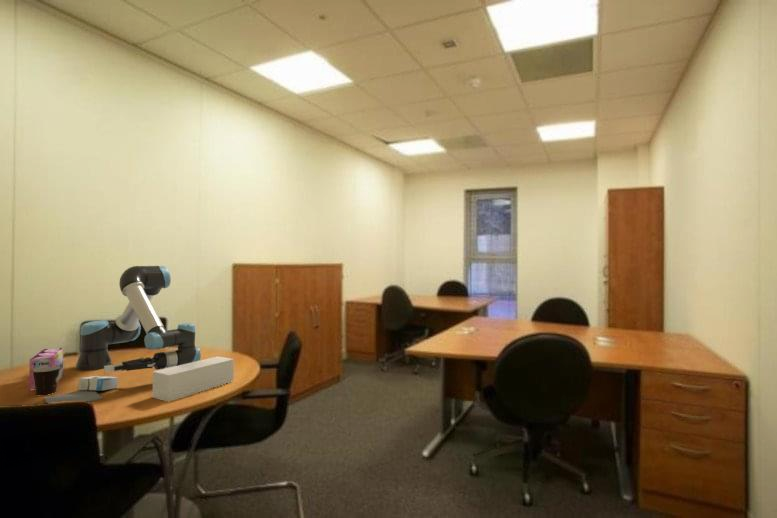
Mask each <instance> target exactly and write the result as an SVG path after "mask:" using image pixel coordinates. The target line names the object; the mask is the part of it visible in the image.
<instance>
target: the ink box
mask: <svg viewBox="0 0 777 518" xmlns="http://www.w3.org/2000/svg"><path fill="white" fill-rule="evenodd" d="M118 380H119V377H118V376H103V375H92V376H84V377H80V378H78V385H77V390H79V391H85V390H94V391H96V392H98V391H99V392H103V391H108V390H109V391H110V390H113V389H117V388H118V384H119V381H118Z"/></svg>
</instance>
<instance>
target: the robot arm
mask: <svg viewBox="0 0 777 518" xmlns="http://www.w3.org/2000/svg"><path fill="white" fill-rule="evenodd" d="M171 280H172V279H171V273H170V270H169V269H168V268H167V267H166V266H164V265H133V266H131V267H128V268H126V270H124V271H123V273H122V274H121V276H120V278H119V289H120V292H121V293H122V295H123V296H124V297H127V299H128V301H129V302H128V304H126V307H125V309H124V310H123V312H122V314H120V315H118V316H116V318H115V320H114V321H110V322H109V321H108V320H107V319H100V320H93V321H89V322H86V323H83V324H82V325H81V327H80V333H79V334H80V353H79V356H78V358H77V361H76V365H75V369H76V370H78V371H93V370H94V371H95V370H101V369H103V373H105V374H107V373H108V374H109V373H114V372H120V371H122V372H123V371H127V372H129V371H136V370H137V371H138V370H146V369H153V368H154V370H155V371H157V370H161V369H166V368H170V367H174V366H179V365H183V364H187V363H192V362H196V361H200V360H201V358H202V353H201V349H200V348H199V347H197V346H196V325H195V323H192V322H191V323H189V322H188V323H187V322H185V323H184V322H183V323H179V324H178V325H177V328H175V329H169V330H167V328H165V325H164V324H163V322H162V320H161V318H160V316H159V315H158V313H157V311H156V309H155V308H154V306H153V303H152V302H151V301H152V299H153V297H154V296H157V295H158V294H159V293H160V292H161V291H162V289H167V288H169V287H170V285H171ZM141 327H143V330H144V331H145V334H146V335H145V336H144V340H143V342H144V347H145V348H147V350H151V351H152V350H160V349H164V348H168V347H176V346H177V349H173V350H166V351H160V352H155V353H154V354H153V357H152V358H151V357H140V358H136V359H131V360H130V359H129V360H125V361H122V362H121V363H115V364H112V358H111V356H110V352H109V350H108V347H109V346H108V345H113V344H120V343H128V342H131V341H135V340H136V339H138V337H140V334H141V330H142V328H141Z"/></svg>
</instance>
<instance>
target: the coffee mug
mask: <svg viewBox="0 0 777 518" xmlns="http://www.w3.org/2000/svg"><path fill="white" fill-rule="evenodd" d="M59 369H60V368H59V367H44V368H39V369H35V370H33V375H34V382H35V389H36V390H35V394H36V395H35V396H37V395H44V396H49V395H48V394H50V395H53V394H52V393H54V394H55V392H56V393H57V388H58V382H59V381H58V375H59Z"/></svg>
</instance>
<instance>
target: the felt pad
mask: <svg viewBox="0 0 777 518" xmlns="http://www.w3.org/2000/svg"><path fill="white" fill-rule="evenodd" d="M43 399H45V400H46V401H45V400H44V401H45V403H52V402H62V401H88V402H87V403H90V402H94V401H95V402H96V401H100V400H103V396H101V395H100V394H98V392H97V391H96V390H79V391H75V392H70V393H64V394H58V395H54V396H47V397H43Z"/></svg>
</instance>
